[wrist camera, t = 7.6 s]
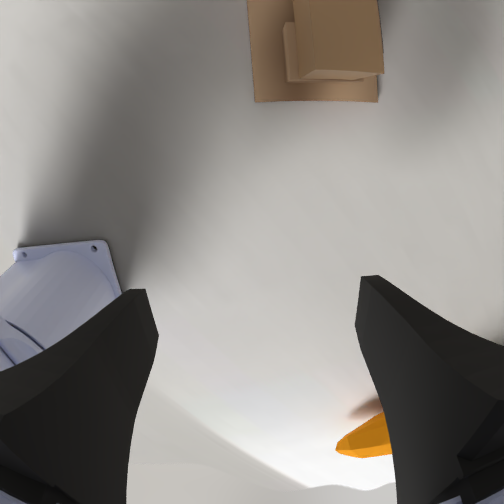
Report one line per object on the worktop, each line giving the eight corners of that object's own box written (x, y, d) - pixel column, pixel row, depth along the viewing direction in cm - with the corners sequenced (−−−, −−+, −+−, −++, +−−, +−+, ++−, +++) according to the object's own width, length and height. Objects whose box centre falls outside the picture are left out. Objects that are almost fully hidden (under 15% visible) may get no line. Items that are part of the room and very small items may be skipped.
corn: (512, 426, 21) (345, 495, 24) (485, 384, 28) (336, 441, 31) (529, 385, 19) (336, 468, 22) (495, 341, 26) (325, 406, 29)
